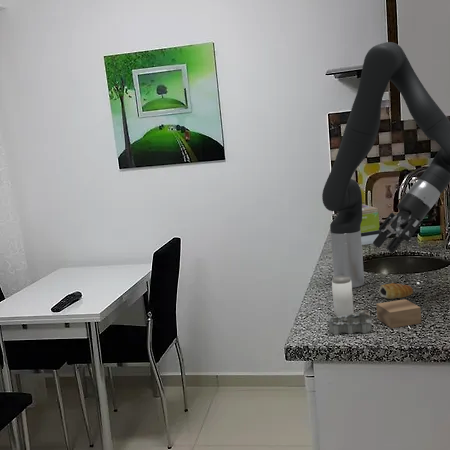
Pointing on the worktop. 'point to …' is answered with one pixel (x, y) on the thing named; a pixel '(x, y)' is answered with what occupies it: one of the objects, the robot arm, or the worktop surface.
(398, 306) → the walnut block
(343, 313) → the spice jar
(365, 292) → the worktop surface
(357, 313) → the egg carton
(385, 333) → the worktop surface
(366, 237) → the tea box
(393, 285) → the pastry
